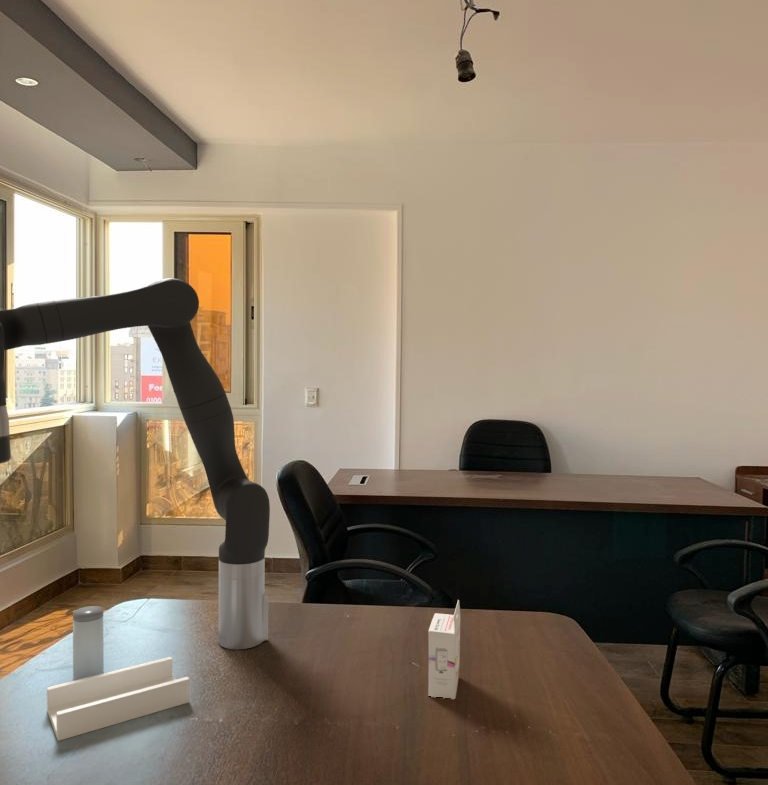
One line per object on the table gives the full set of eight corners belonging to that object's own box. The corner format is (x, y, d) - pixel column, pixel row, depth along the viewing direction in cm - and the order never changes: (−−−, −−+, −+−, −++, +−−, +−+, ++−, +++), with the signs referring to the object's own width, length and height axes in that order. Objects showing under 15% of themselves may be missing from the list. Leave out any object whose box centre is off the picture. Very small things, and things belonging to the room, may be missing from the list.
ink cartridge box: (432, 674, 120) (434, 596, 119) (459, 677, 119) (461, 598, 118) (426, 697, 111) (428, 613, 111) (455, 700, 110) (457, 616, 110)
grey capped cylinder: (100, 667, 121) (99, 604, 120) (106, 678, 117) (106, 612, 116) (70, 674, 118) (70, 609, 117) (76, 685, 114) (75, 618, 113)
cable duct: (170, 678, 117) (170, 656, 117) (189, 702, 109) (189, 678, 108) (47, 711, 105) (46, 687, 105) (57, 741, 97) (57, 714, 97)
